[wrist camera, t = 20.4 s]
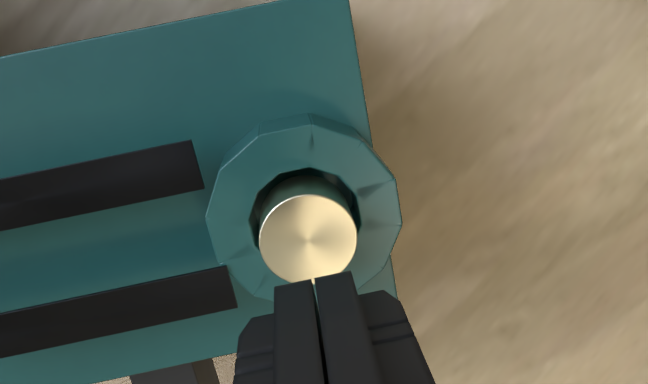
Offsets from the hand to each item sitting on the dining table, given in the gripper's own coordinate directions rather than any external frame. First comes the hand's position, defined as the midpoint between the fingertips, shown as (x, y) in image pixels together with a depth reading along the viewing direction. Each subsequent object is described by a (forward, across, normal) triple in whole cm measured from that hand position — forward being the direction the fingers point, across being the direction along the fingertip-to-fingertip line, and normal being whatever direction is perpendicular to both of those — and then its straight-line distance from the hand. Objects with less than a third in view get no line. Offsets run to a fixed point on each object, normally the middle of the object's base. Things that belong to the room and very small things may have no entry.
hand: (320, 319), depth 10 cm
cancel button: (+6, 0, 0) cm, 6 cm away
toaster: (+18, +6, 0) cm, 19 cm away
